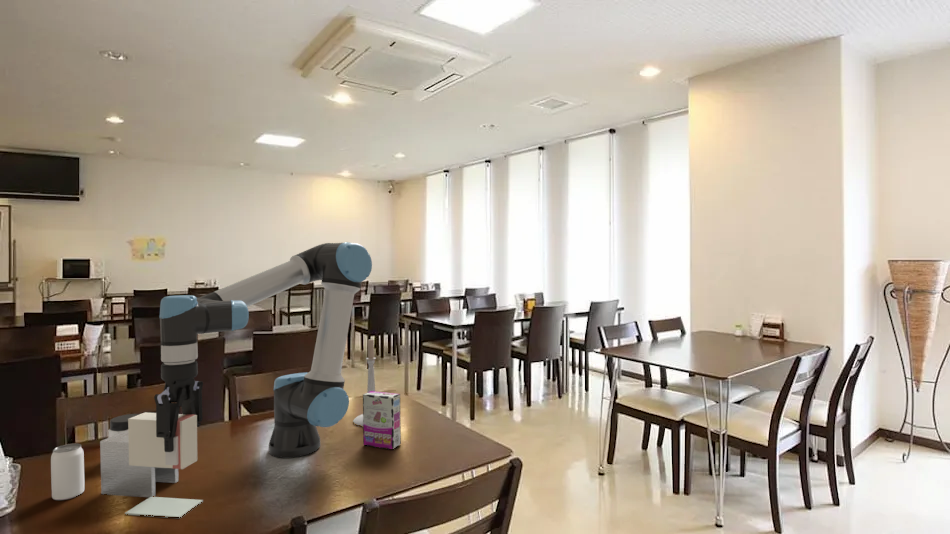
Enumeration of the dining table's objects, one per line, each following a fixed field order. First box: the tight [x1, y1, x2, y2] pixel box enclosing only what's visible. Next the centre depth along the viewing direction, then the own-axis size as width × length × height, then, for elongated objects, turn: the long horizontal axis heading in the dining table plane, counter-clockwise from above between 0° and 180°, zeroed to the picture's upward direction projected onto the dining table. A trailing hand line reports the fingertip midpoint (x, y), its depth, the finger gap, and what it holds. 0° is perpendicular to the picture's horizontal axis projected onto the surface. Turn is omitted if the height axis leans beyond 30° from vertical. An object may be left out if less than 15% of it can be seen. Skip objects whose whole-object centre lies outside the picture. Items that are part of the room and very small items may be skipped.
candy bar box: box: [362, 390, 402, 450], centre depth 162 cm, size 11×5×16 cm, turn 68°
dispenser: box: [99, 430, 179, 498], centre depth 133 cm, size 14×9×14 cm
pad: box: [124, 496, 204, 519], centre depth 123 cm, size 14×8×1 cm, turn 82°
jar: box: [107, 413, 141, 438], centre depth 152 cm, size 9×8×12 cm
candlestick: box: [352, 338, 377, 426], centre depth 185 cm, size 13×13×30 cm
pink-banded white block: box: [128, 411, 198, 470], centre depth 122 cm, size 14×5×11 cm, turn 81°
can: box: [50, 443, 85, 501], centre depth 129 cm, size 6×6×12 cm
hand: (181, 459), depth 122 cm, fingers closed on pink-banded white block, 5 cm apart
